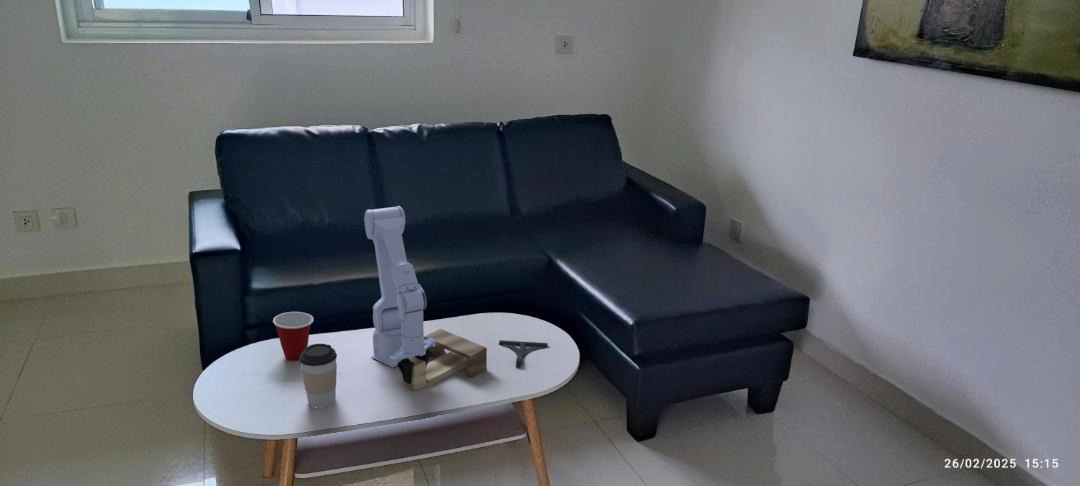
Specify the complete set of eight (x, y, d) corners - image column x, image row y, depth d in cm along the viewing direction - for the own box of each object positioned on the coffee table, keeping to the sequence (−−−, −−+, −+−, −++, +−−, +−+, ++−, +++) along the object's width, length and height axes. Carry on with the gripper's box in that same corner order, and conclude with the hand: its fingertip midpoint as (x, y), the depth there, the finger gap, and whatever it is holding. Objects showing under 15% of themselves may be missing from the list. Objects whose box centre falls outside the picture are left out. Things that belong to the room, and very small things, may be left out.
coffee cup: (305, 413, 183) (300, 359, 178) (301, 395, 191) (296, 343, 186) (342, 406, 186) (339, 353, 181) (337, 389, 194) (333, 337, 189)
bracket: (492, 368, 208) (492, 359, 207) (499, 344, 222) (499, 335, 221) (543, 372, 207) (543, 363, 206) (547, 347, 221) (547, 339, 220)
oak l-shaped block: (399, 383, 198) (398, 360, 195) (452, 356, 213) (452, 334, 210) (417, 392, 194) (417, 368, 191) (470, 364, 209) (470, 341, 206)
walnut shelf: (424, 357, 212) (423, 336, 209) (440, 349, 216) (440, 328, 214) (470, 378, 201) (470, 356, 199) (486, 369, 206) (486, 347, 204)
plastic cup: (319, 361, 208) (316, 322, 204) (279, 368, 204) (275, 329, 200) (313, 345, 217) (310, 307, 213) (274, 351, 213) (270, 313, 209)
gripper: (401, 347, 184) (403, 395, 189) (443, 328, 195) (444, 373, 200) (383, 339, 188) (385, 385, 193) (424, 320, 199) (426, 365, 204)
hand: (414, 379), depth 197 cm, fingers closed on oak l-shaped block, 4 cm apart
